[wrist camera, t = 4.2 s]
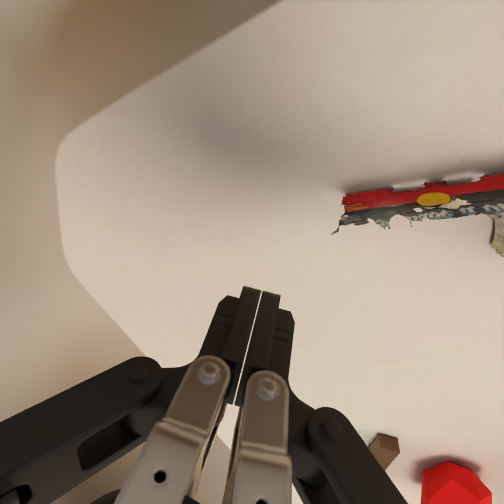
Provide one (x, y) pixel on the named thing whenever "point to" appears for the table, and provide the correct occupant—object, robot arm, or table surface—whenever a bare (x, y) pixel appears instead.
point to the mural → (431, 204)
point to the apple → (453, 486)
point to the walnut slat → (385, 449)
